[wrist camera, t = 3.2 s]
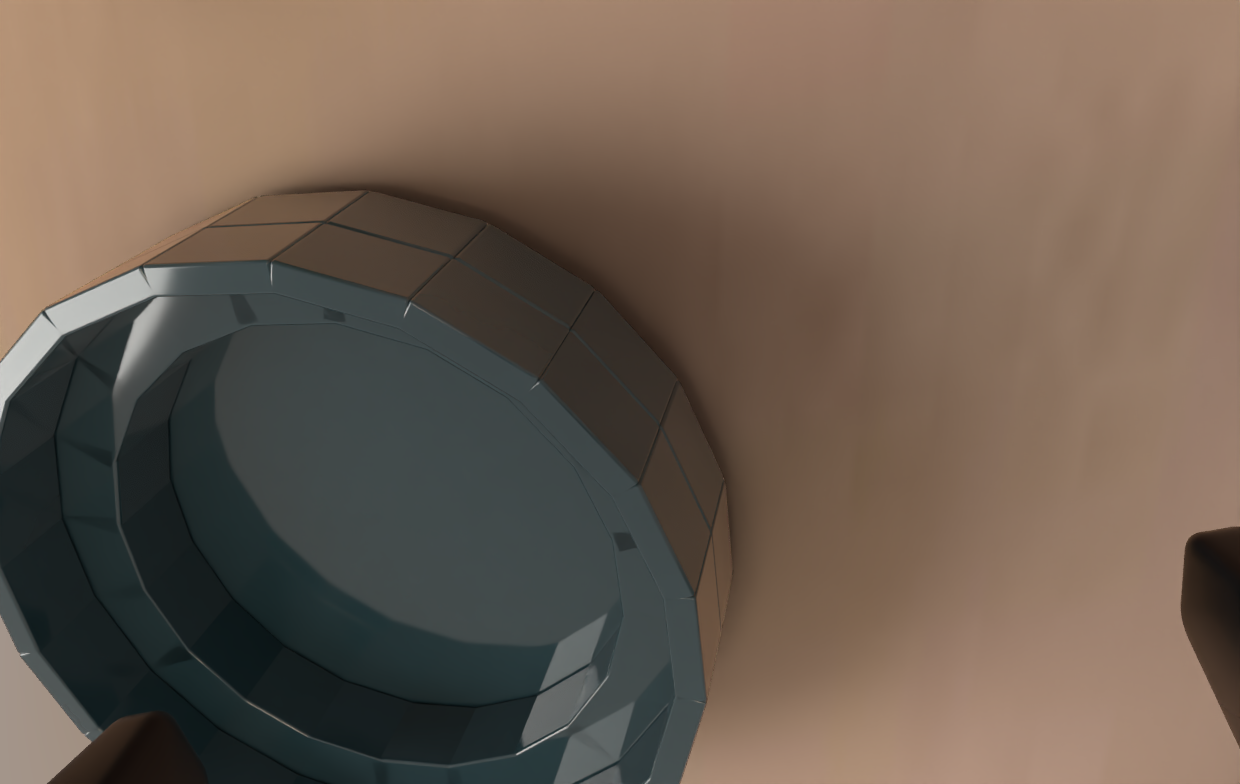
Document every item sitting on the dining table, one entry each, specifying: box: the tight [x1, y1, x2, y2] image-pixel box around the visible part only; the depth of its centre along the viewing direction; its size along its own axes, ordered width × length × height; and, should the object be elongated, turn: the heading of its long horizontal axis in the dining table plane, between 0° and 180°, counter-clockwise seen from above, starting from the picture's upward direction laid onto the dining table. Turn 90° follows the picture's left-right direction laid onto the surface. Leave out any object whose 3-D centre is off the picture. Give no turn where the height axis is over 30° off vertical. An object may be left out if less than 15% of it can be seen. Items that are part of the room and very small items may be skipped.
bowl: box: [0, 190, 733, 784], centre depth 22 cm, size 15×15×4 cm
